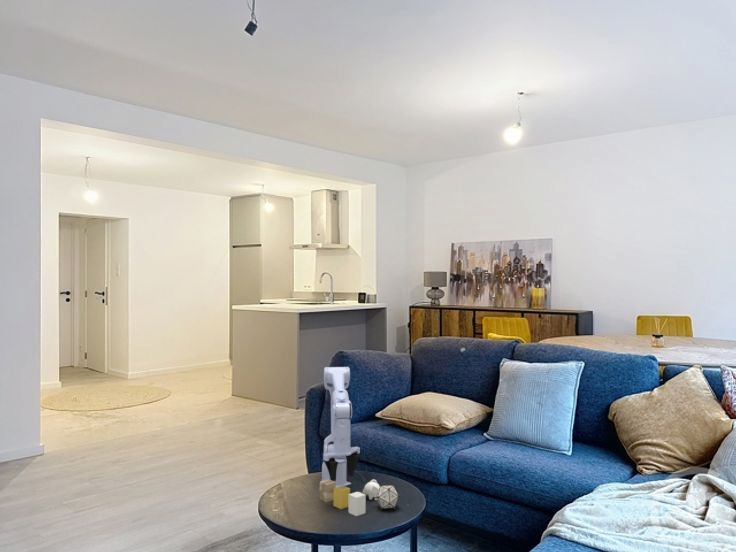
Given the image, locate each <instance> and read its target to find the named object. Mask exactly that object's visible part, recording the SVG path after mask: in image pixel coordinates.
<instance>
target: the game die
mask: <svg viewBox="0 0 736 552" xmlns="http://www.w3.org/2000/svg"><path fill="white" fill-rule="evenodd" d="M378 484H379V486H380V488H379V490H378V493H377V496H376V497H374V498H376V499H377V500H376V501H377V503H378V505H379V507H380V509H379V510H380V511H383V510H382V509H394V510H395V511H396V510H397V509H396V505H397V502H398V500H399V498H400V497H402V495H401V494H398V492H397V490H396V488H395V486H394V485H395V483H394V482H393V483H392V485H390V484H389V485H381V483H378ZM374 498H373V499H374Z"/></svg>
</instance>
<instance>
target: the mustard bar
mask: <svg viewBox="0 0 736 552" xmlns="http://www.w3.org/2000/svg"><path fill="white" fill-rule="evenodd" d="M348 494H351V488H350V487H348V486H343V485H342V486H339V487H335V488H334V500H333V506H334V507H335V508H338V509H339V510H343V509H345V508H348Z"/></svg>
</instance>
